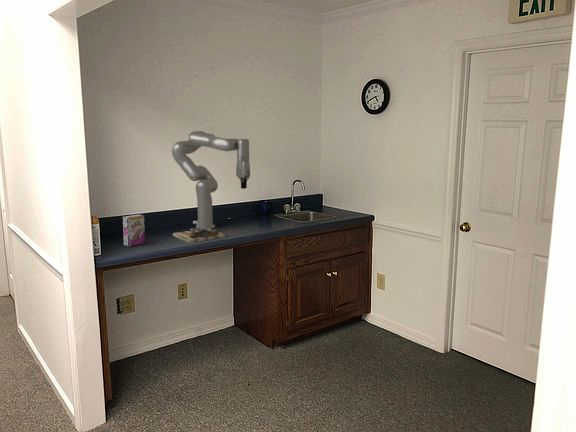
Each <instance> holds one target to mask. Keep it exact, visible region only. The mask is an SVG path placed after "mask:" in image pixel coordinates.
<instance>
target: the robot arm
mask: <svg viewBox="0 0 576 432" xmlns="http://www.w3.org/2000/svg"><path fill="white" fill-rule="evenodd" d="M202 147H207V148H211V149H214V150H219V151H224V152H231V151H232V152H234V151H236V154H237V155H236V159H237V160H236V165H235V167H236V168H235V169H236V170H235V173H236V174H235V175H236V177H237V178H238V179H239V180H240V189H247V187H248V186H247V182H248V180H250V177H251V164H250V140H249V139H248V138H223V137H218V136H215V134H213V133H208V132H205V131H203V130H194V131H191V132H190V133H189V134H188V140H181V141H177V142H175V143H174V144H173V146H172V147H171V148H172V150H171V153H172V155H171V156H172V157H173V159H174V161H175V163H176V164H177V165H178V166H179V167H180V168H181V170H182V171H183V172H184V173H185V175H186V177H188V179H189V180H190V181H193V182H196V184H195V192H196V202H197V203H196V204H197V220H193V221H192V224H193V225H195V229H196V228H199V227H201V228H204V229H211V230H213V229H215V228H216V225H215V224H214V223H213V222H214V221H213V198H212V195H211V194H212V193H214V192H216V191H217V190H218V187H219V186H218V185H219V183H218V181H217V180H216V178H215V177H214V176H213V175H212V173H211V172H210V170H208V168H207V167H205V166H203V165H196V164H195V162H194V161H193V160H192V158H190V157H189V156H188V155H189V154H193V153H194V152H196V151H197V150H199V149H200V148H202Z"/></svg>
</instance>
